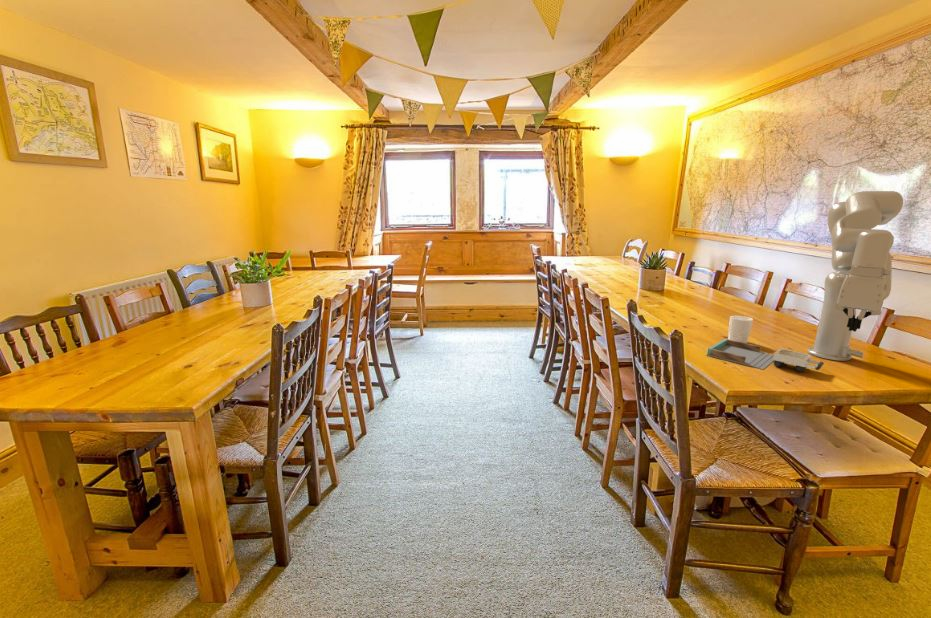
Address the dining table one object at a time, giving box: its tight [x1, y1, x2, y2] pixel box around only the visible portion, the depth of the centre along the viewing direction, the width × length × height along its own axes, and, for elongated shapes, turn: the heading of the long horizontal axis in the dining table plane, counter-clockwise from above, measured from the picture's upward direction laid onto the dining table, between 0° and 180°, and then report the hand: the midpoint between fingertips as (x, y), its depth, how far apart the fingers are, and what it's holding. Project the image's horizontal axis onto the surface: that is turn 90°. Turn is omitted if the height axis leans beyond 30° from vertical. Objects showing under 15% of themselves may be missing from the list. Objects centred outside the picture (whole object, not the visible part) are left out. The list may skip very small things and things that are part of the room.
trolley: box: [772, 347, 825, 373], centre depth 146 cm, size 13×8×5 cm, turn 42°
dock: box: [706, 338, 775, 370], centre depth 158 cm, size 18×19×3 cm
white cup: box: [727, 315, 754, 344], centre depth 174 cm, size 8×8×10 cm
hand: (852, 330), depth 134 cm, fingers closed
